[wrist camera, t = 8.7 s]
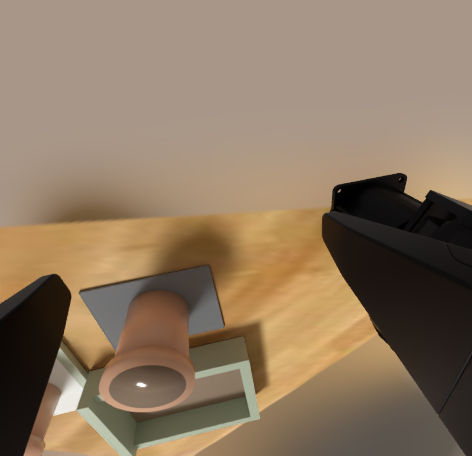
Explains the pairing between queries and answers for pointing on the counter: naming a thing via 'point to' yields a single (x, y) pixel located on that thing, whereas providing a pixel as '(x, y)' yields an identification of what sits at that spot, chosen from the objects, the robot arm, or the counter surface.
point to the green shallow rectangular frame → (188, 411)
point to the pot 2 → (151, 356)
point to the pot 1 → (43, 421)
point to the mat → (180, 282)
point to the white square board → (68, 380)
